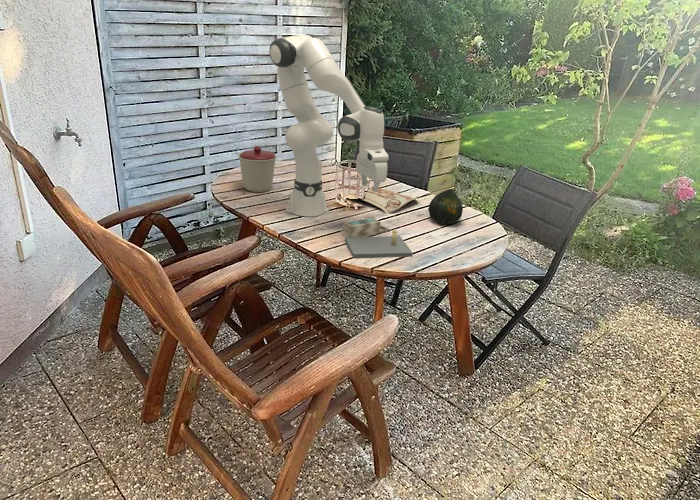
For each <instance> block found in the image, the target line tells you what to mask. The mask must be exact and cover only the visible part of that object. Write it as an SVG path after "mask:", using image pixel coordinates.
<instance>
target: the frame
mask: <svg viewBox="0 0 700 500" xmlns="http://www.w3.org/2000/svg"><path fill="white" fill-rule="evenodd" d="M388 232H389V233H390V228H388V227H386V226H384V225H381V221H379V220H378V219H376V218H375V217H367V218H360V219H355V220H349V221H348V220H347V221H343V222H342V235H343V236H345V237H370V236H374V235H379V234H383V233H388Z"/></svg>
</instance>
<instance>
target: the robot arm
mask: <svg viewBox="0 0 700 500" xmlns="http://www.w3.org/2000/svg"><path fill="white" fill-rule="evenodd" d="M268 53H269V58H270V60H271V61H272V64H273V65H274V66H275V67H277V68H276V69H277V70H276V72H277V79H278V84H279V87H280V91H281V94H282V96H283V100H284V103H285V107H286V109H287V111H288V112H289V113H290V114H291V115H292V116H293V117H294V118H295V119H296V120H297V121H298V123H295V124H292V125H291V126H290V127H289V128H288V129H287V130H286V132H285V138H284V139H285V142H286V146H288V147H289V149H291V151H292V154H293V156H294V160H295V161H294V162H295V178H294V182H293V187H294V188H293V190H292V191H291V193H288V199H289V200H288V202H287V204H286V208H285V212H286V213H289V214H290V213H291V214H293V215H297V216H298V217H299V216H301V217H318V216H321V215H323V214H326V213H328V212H329V211H330V209H329V207H327V205H326V193H325V192H324V190H323V185H324V184H323V180H322V176H323V175H322V173H323V162H322V161H321V159H320V158H319V157H318V154H317V147H320V146H321V147H322V146H324V145H326V144H327V143H328V142H329V141H330V140H332V137H333V136H334V129H333V126H332V124H331V123H330V122H329V121H327V120H326V119H325V118H324V117H323V115H322V114H321V112H320V110H319V108H318V107H317V106H316V103H315V101H314V99H313V96H312V93H311V90H310V88H309V84H308V81H307V79H306V75H305V70H306V72H307V74H308V76H309V78H310V80H311V82H312V83H313V84H314V86H315V87H316V88H318V89H319V90H321V91H323V92H328V93H329V94H333V95H335V96H338V97H339V98H340V99H341V100H342V101H343V102H344V103H345V106H346V107H347V108H348V110H349V111H350V113H351V114H347V115H344V116H342V117H341V118H340V119H339V121H338V123H337V133H338V135H339V137H340V138H341V139H342V140H344V141H347V142H353V141H358V142H359V153H357V155H356V166H355V170H356V172H358V173H360V178H361V186H362V187H363V186H364V187H368V185H369V184H368V183H369V181H368V179H370V180H372V181H373V182H372V183H373V186H371V187H372V191H373V192H378V188H380V184H381V183H385V182H386V180H387V176H388V162H387V161H389V160H390V159H389V158H390V157H389V154H388V153H387V152H386V150H385V148H384V139H383V137H384V134H385V117H384V116H385V115H384V113H383V110H381V109H380V108H379V107H375V106H370V105H369V106H368V105H366V103H365V101H364V100H363V99H362V97H361V96H360V94H359V93H358V91H357V89H356V88H355V86H354V85H353V84H352V82H351V81H350V79H349V78H348V77H346V75H345V74H344V73H343V71H341V69H340V67H339V66H338V65H337V63H336V61H335V59H334V57H333V55H332V54H331V52H330V50H329V49H328V48H327V46H326V45H325V43H324V42H323V41H322V40H321V39H320V38H319V37H318V36H317V35H315V34H311V33H306V34H294V35H291V36H285V37H280V38H277V39H274V40H273V41H272V42H271V43H270V45H269V52H268Z"/></svg>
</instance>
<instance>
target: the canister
mask: <svg viewBox="0 0 700 500" xmlns="http://www.w3.org/2000/svg"><path fill="white" fill-rule="evenodd" d="M237 157H238V159H239V165H240V173H241V179H242V185H243V187H244V189H245V190H246V191H249V192H252V193H253V192H254V193H263V192H267V191H270V190H271V189H272V186H273V181H274V174H275V166H276V159H277V158H278V157H277V155H276V154H275V153H274V152H271V151H268V150H264V149H262V147H261V146H259V145H256V146H254V147H253V149H249V150H245V151H244V150H243V151H241V152H240V153H238V155H237Z"/></svg>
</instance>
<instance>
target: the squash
mask: <svg viewBox="0 0 700 500" xmlns="http://www.w3.org/2000/svg"><path fill="white" fill-rule="evenodd" d="M463 209H464V208H463V203H462V201H461V199H460V197H459V196H458V194H457V192H456V191H455V190H454V188H450V189H449V188H448V189H446V190H443V191H441V192H439V193H438V194H436V195H435V196H434V197H433V198H432V199H431V201H430V202H429V204H428V209H427V210H428V215H429V216H430V218H432V219H433V220H435V221H437V222H438V224H440V225H443V224H445V225H451V224H452V223H456V222H458V221H459V220H460V219H461V217H462V216H463Z"/></svg>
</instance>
